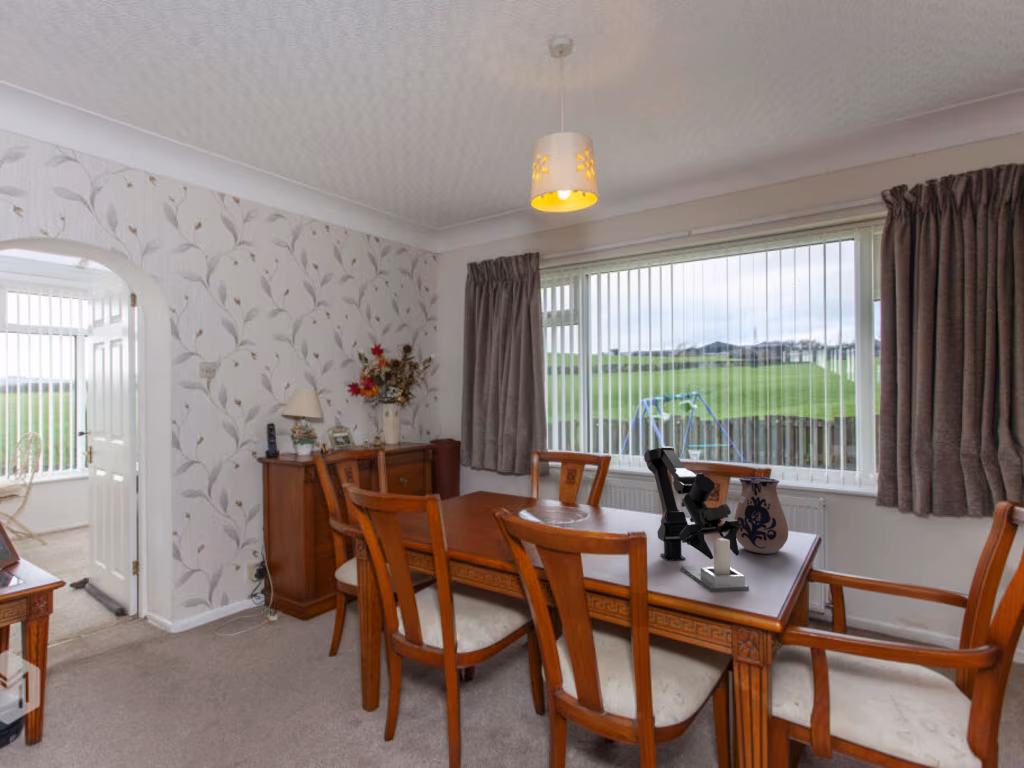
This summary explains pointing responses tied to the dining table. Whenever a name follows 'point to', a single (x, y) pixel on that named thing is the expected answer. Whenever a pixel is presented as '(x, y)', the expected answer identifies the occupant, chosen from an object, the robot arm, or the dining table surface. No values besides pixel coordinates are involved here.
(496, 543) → the dining table surface
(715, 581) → the socket
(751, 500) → the ceramic pitcher
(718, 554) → the peg
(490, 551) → the dining table surface
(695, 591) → the dining table surface
